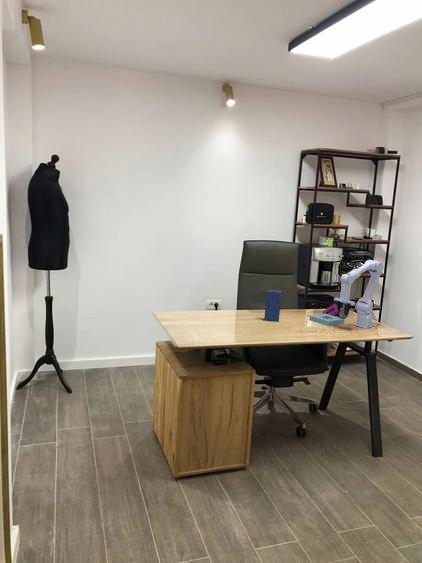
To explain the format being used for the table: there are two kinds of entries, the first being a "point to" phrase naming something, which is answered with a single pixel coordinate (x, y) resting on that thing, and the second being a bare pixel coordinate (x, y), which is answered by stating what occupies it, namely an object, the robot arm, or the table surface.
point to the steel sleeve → (342, 313)
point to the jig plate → (326, 319)
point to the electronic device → (273, 305)
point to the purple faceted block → (333, 310)
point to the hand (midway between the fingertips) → (342, 314)
